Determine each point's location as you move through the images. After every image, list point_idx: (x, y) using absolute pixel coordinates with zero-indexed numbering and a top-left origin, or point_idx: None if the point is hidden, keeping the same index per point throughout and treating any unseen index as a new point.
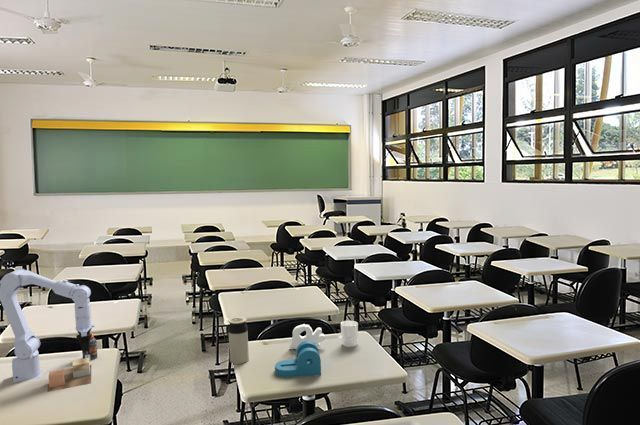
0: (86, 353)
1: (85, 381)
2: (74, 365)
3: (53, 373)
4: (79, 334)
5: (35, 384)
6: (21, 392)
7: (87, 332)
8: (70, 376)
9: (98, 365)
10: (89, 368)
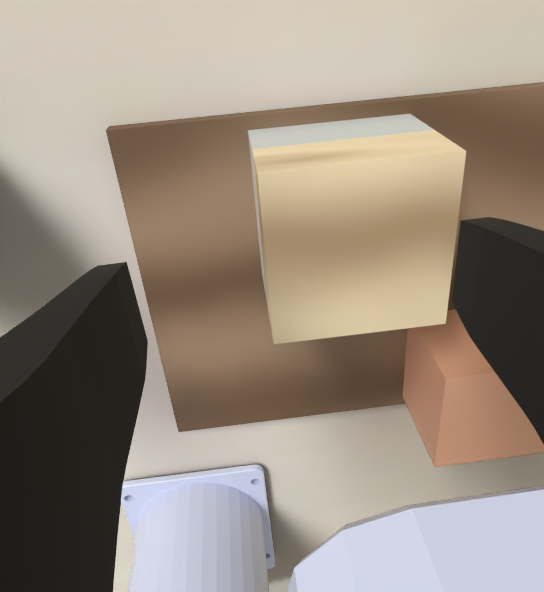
0: None
1: None
2: (447, 304)
3: (504, 433)
4: (110, 576)
5: (348, 465)
6: (433, 499)
7: (45, 456)
8: None
9: (115, 41)
10: (414, 130)
